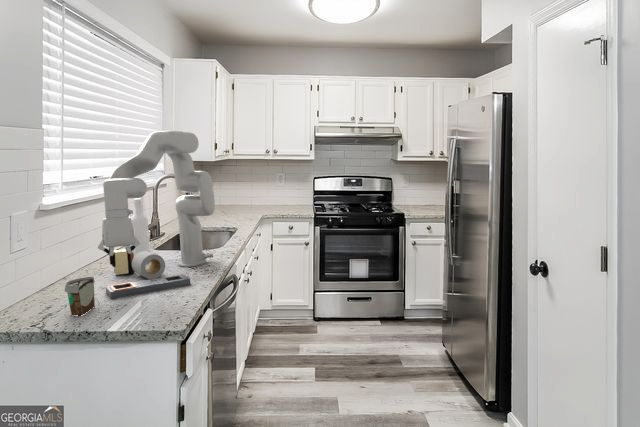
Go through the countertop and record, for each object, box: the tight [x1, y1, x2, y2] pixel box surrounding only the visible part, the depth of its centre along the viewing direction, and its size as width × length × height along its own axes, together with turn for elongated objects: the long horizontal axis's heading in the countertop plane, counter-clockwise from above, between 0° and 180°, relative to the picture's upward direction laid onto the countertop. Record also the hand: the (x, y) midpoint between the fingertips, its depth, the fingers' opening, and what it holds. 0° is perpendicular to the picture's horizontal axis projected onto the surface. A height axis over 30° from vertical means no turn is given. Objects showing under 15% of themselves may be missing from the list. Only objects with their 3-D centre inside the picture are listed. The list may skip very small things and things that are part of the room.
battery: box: [118, 252, 136, 276], centre depth 194 cm, size 4×7×10 cm, turn 91°
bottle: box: [130, 197, 151, 263], centre depth 218 cm, size 8×8×30 cm
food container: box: [64, 276, 96, 316], centre depth 145 cm, size 12×6×10 cm, turn 5°
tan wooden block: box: [113, 249, 128, 276], centre depth 164 cm, size 4×4×8 cm
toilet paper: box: [132, 251, 166, 280], centre depth 189 cm, size 10×10×10 cm
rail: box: [105, 273, 192, 300], centre depth 170 cm, size 28×9×3 cm, turn 124°
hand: (120, 264), depth 164 cm, fingers closed on tan wooden block, 4 cm apart
